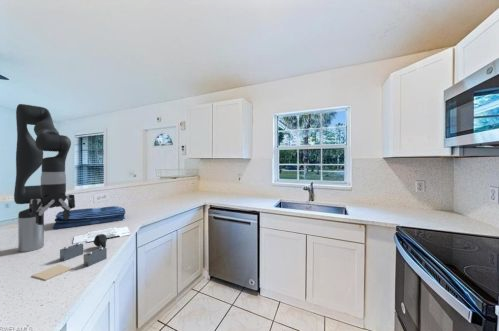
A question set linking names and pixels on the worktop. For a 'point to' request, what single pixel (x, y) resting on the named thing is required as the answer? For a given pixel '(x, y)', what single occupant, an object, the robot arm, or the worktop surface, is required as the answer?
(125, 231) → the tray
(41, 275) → the mat
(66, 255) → the metal blocks
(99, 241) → the power plug
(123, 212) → the towel
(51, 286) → the worktop surface
